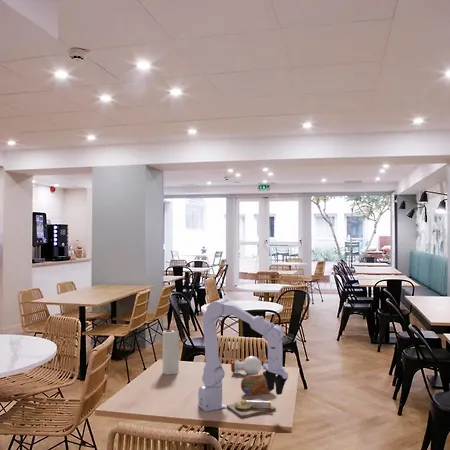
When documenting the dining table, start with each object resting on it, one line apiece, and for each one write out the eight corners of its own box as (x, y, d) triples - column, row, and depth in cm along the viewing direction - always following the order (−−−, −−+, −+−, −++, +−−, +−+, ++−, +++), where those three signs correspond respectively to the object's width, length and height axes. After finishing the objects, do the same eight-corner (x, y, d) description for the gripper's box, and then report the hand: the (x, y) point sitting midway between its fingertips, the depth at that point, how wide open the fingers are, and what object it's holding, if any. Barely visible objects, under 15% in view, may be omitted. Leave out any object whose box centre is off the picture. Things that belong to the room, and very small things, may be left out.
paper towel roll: (160, 374, 236) (160, 331, 236) (165, 370, 242) (165, 329, 242) (173, 375, 234) (173, 332, 234) (178, 372, 239) (178, 330, 240)
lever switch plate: (241, 418, 181) (241, 415, 181) (226, 407, 192) (226, 405, 192) (275, 410, 189) (275, 407, 189) (259, 400, 200) (259, 398, 200)
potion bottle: (262, 379, 232) (233, 380, 236) (264, 363, 240) (236, 364, 244) (258, 367, 227) (228, 368, 231) (260, 351, 235) (231, 352, 239)
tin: (242, 396, 205) (242, 377, 205) (240, 394, 208) (240, 375, 208) (274, 393, 209) (274, 374, 209) (271, 390, 212) (271, 372, 212)
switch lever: (234, 409, 187) (234, 403, 187) (235, 403, 194) (235, 397, 194) (270, 411, 185) (270, 405, 185) (270, 404, 192) (270, 398, 192)
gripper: (294, 360, 179) (294, 395, 179) (272, 351, 192) (272, 384, 192) (279, 362, 176) (279, 399, 176) (258, 353, 188) (258, 387, 188)
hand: (275, 391), depth 183 cm, fingers open, 5 cm apart
